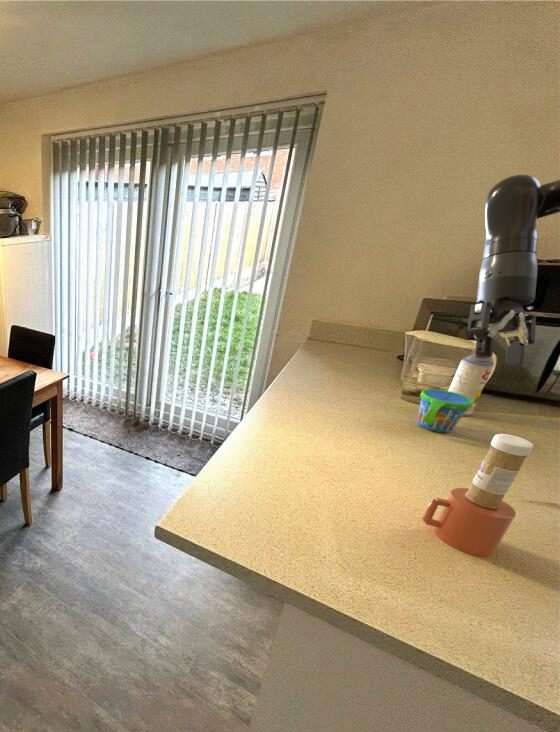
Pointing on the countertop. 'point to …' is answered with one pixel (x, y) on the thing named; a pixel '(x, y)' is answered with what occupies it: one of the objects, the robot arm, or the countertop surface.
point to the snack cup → (441, 409)
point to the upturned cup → (469, 523)
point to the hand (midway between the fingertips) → (498, 361)
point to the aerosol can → (471, 378)
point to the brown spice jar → (498, 470)
